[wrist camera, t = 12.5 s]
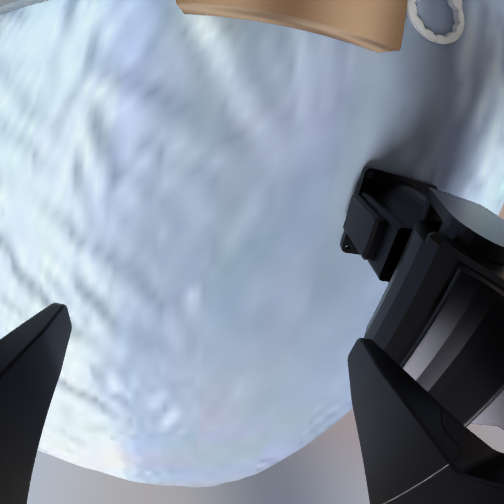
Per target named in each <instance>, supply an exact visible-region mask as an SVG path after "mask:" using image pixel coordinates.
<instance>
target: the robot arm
mask: <svg viewBox="0 0 504 504" xmlns="http://www.w3.org/2000/svg"><path fill="white" fill-rule="evenodd" d="M369 172H372V175H371V176H370V177H367V175H368V173H369ZM343 228H344V229H345V231H344V234H343V237H342V240H341V243H340V247H341V249H342V251H343V252H345V253H352V254H360V255H361V256H362V258H363V259H364V260H368V262H369V263H370V265H371V267H372V268H373V270H374V271H375V273H376V275H377V276H378V278H379V280H381V281H388V283H389V284H388V286H387V288H386V290H385V292H384V294H383V296H382V299H381V301H380V303H379V305H378V307H377V308H376V310H375V312H374V314H373V316H372V318H371V320H370V322H369V324H368V326H367V329H366V333H365V336H364V338H359V339H358V340H357V341H356V343H355V345H354V346H353V348H352V350H351V352H350V354H349V356H348V369H349V378H350V388H351V398H352V405H353V410H354V415H355V420H356V425H357V430H358V435H359V440H360V446H361V451H362V457H363V463H364V468H365V475H366V481H367V487H368V493H369V500H370V504H504V453H500V452H498V451H496V450H494V449H492V448H491V447H490V446H488V445H487V444H486V443H485V442H483V441H482V440H481V439H479V438H478V437H477V436H476V435H475V434H473V433H472V432H471V431H470V430H468V429H467V428H466V427H467V426H468V425H469V424H480V425H493V426H498V427H500V428H502V429H503V430H504V220H503V219H502V218H500V217H499V216H497V215H496V214H494V213H493V212H491V211H490V210H488V209H486V208H485V207H483V206H482V205H479V204H477V203H474V202H471V201H469V200H466V199H463V198H460V197H457V196H454V195H452V194H449V193H446V192H443V191H440V190H438V189H437V187H436V186H435V185H433V184H431V183H428V182H425V181H421V180H418V179H414V178H411V177H408V176H404V175H400V174H397V173H393V172H389V171H386V170H382V169H378V168H374V167H365V168H364V169H363V171H362V174H361V178H360V181H359V185H358V188H357V192H356V193H355V194H354V195H353V196H352V200H351V203H350V206H349V210H348V213H347V216H346V220H345V223H344V226H343ZM347 244H350V245H349V246H348V247H345V246H346V245H347ZM71 329H72V326H71V321H70V317H69V313H68V309H67V307H66V305H64V304H60V303H53V304H51V305H49V306H48V307H46V308H45V309H43V310H42V311H40V312H39V313H37V314H36V315H35V316H33V317H32V318H30V319H29V320H27V321H26V322H24V323H23V324H21V325H20V326H19V327H17V328H16V329H14V330H13V331H11V332H10V333H9V334H7V335H6V336H4V337H3V338H2V339H0V504H27V498H28V492H29V487H30V481H31V475H32V471H33V466H34V462H35V458H36V453H37V449H38V445H39V441H40V438H41V434H42V430H43V427H44V423H45V420H46V416H47V413H48V410H49V406H50V403H51V400H52V397H53V394H54V391H55V388H56V385H57V382H58V379H59V376H60V373H61V369H62V365H63V361H64V357H65V353H66V349H67V345H68V341H69V337H70V334H71Z"/></svg>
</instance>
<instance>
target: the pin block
mask: <svg viewBox="0 0 504 504" xmlns="http://www.w3.org/2000/svg"><path fill="white" fill-rule="evenodd" d="M407 3H408V0H176V4H177V5H178V6H179V7H180V9H181V10H182V11H183V12H184V14H195V15H210V16H221V17H230V18H239V19H246V20H253V21H259V22H265V23H271V24H277V25H282V26H287V27H291V28H296V29H300V30H305V31H309V32H313V33H317V34H321V35H324V36H328V37H332V38H335V39H339V40H342V41H345V42H348V43H352V44H355V45H358V46H361V47H364V48H367V49H369V50H372V51H375V52H378V53H379V52H388V51H398V50H400V48H401V43H402V37H403V31H404V24H405V18H406V11H407Z"/></svg>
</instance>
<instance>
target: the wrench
mask: <svg viewBox="0 0 504 504" xmlns="http://www.w3.org/2000/svg"><path fill="white" fill-rule="evenodd" d="M462 1H463V0H447V2H448V5H449V6H450V7H451V8H452V9H453V18H454V20H455V23H454V25H453V26H452V32H450V33H447V34H446V35H445V36H442V35H434V33H433V32H432V31H431V30H428V29H426V28H424V25H423V22H422V20H421V19H420V18H419V17H418V16H417V10H418V9H417V6H416V4H415V2H416V0H408V3H407V15H408V17H409V19H410V21H411V23H412V24H413V26H414V27H415V29H416V30H417V31H418V32H419V33H420V34H421V35H422V36H423V37H425V38H426V39H428V40H430V41H432V42H434V43H438V44H450V43H453V42H455V41H456V40H457V39H458V38H459V37H460V36H461V34H462V32H463V30H464V24H465V23H464V14H463V10H462Z"/></svg>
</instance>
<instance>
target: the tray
mask: <svg viewBox="0 0 504 504" xmlns="http://www.w3.org/2000/svg"><path fill="white" fill-rule="evenodd" d="M44 1H48V0H0V15H1V14H4V13H6V12H9V11H12V10H16V9H19V8H22V7H25V6H29V5H32V4H36V3H40V2H44Z"/></svg>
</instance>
